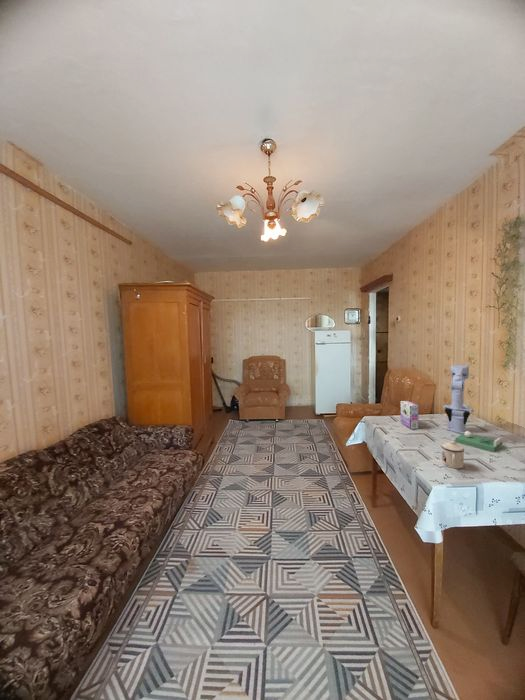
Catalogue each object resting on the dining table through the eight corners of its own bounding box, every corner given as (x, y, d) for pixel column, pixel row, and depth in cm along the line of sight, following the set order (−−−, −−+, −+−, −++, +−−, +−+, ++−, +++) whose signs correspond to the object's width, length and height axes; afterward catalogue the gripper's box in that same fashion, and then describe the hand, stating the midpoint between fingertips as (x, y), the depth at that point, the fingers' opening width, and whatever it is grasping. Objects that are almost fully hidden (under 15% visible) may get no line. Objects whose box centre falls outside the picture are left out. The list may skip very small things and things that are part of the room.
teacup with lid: (441, 459, 141) (441, 436, 140) (463, 462, 136) (463, 439, 136) (442, 469, 131) (442, 445, 130) (465, 473, 126) (465, 448, 125)
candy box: (419, 429, 184) (418, 405, 183) (410, 429, 184) (410, 405, 184) (408, 422, 198) (408, 400, 197) (400, 423, 198) (400, 400, 197)
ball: (463, 437, 162) (463, 431, 162) (465, 435, 164) (465, 429, 164) (470, 438, 159) (470, 432, 159) (472, 437, 161) (472, 431, 161)
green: (455, 442, 161) (455, 434, 161) (464, 436, 169) (464, 428, 169) (495, 452, 146) (495, 443, 146) (503, 445, 154) (503, 437, 154)
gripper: (441, 399, 169) (441, 421, 170) (469, 403, 157) (469, 426, 158) (445, 397, 173) (445, 418, 174) (473, 401, 162) (473, 424, 162)
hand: (457, 422), depth 166 cm, fingers open, 7 cm apart
